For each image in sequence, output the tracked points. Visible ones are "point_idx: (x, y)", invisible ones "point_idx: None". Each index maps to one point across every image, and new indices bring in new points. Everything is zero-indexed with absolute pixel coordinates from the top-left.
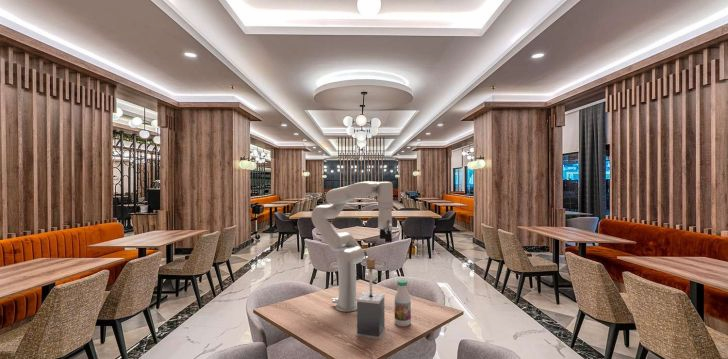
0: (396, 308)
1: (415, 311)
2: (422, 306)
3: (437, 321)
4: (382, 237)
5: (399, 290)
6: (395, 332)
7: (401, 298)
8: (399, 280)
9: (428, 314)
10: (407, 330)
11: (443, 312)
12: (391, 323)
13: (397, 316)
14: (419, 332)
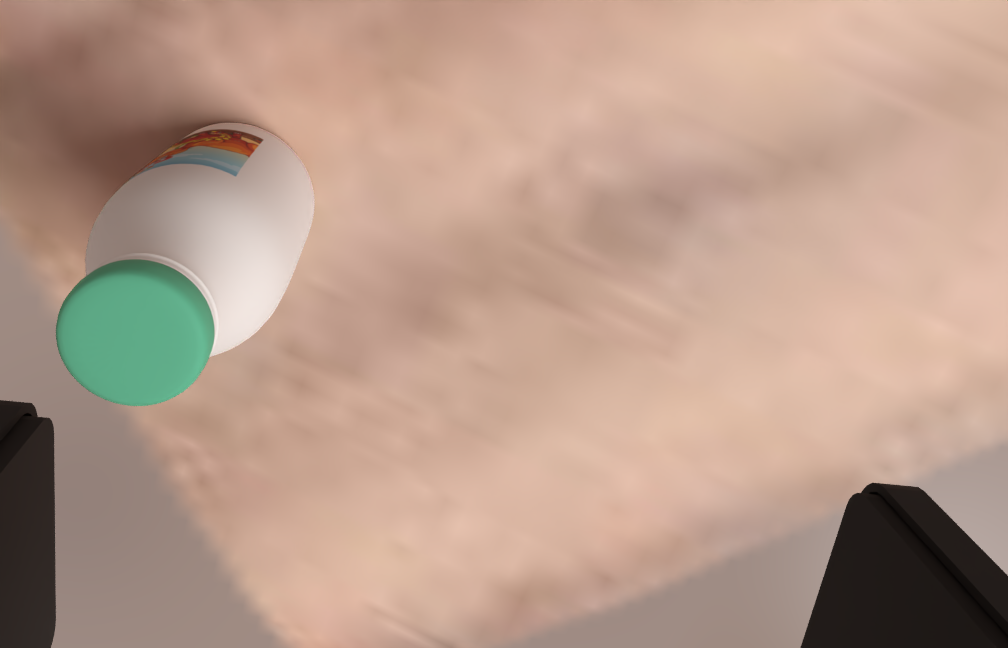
0: (176, 152)
1: (446, 418)
2: (525, 521)
3: (191, 486)
4: (851, 594)
5: (125, 245)
6: (72, 45)
7: (97, 224)
8: (179, 319)
9: (347, 487)
10: (86, 170)
11: (344, 611)
12: (270, 96)
13: (180, 142)
14: (23, 250)
